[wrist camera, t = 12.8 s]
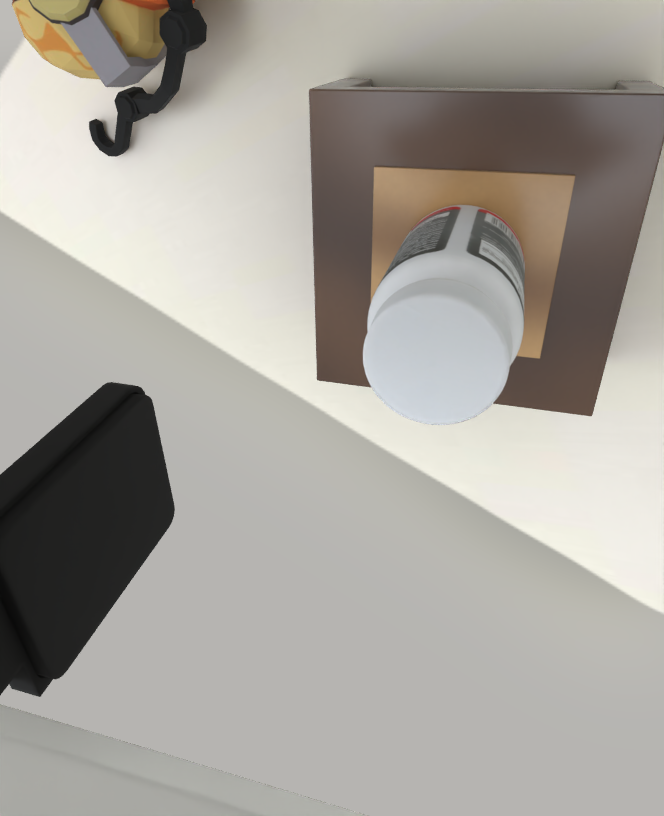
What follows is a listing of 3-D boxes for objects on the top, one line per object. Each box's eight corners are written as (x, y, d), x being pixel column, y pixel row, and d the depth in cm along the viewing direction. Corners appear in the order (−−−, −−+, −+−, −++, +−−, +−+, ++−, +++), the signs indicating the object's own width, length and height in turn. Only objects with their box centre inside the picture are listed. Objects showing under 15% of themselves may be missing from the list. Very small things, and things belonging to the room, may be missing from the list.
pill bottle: (395, 314, 25) (343, 423, 18) (405, 196, 22) (349, 272, 16) (513, 330, 24) (505, 452, 17) (537, 208, 21) (539, 295, 15)
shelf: (344, 78, 26) (306, 89, 21) (651, 80, 23) (677, 94, 19) (344, 335, 32) (315, 383, 28) (583, 362, 29) (592, 419, 25)
